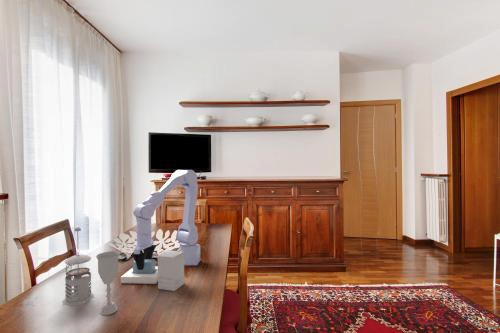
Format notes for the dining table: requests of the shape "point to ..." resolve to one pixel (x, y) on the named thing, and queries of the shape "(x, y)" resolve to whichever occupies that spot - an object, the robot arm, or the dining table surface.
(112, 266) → the chalice
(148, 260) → the block
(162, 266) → the supplement box
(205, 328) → the dining table surface
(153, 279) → the white rectangular frame
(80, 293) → the french press
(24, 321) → the dining table surface
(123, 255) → the woman figurine
